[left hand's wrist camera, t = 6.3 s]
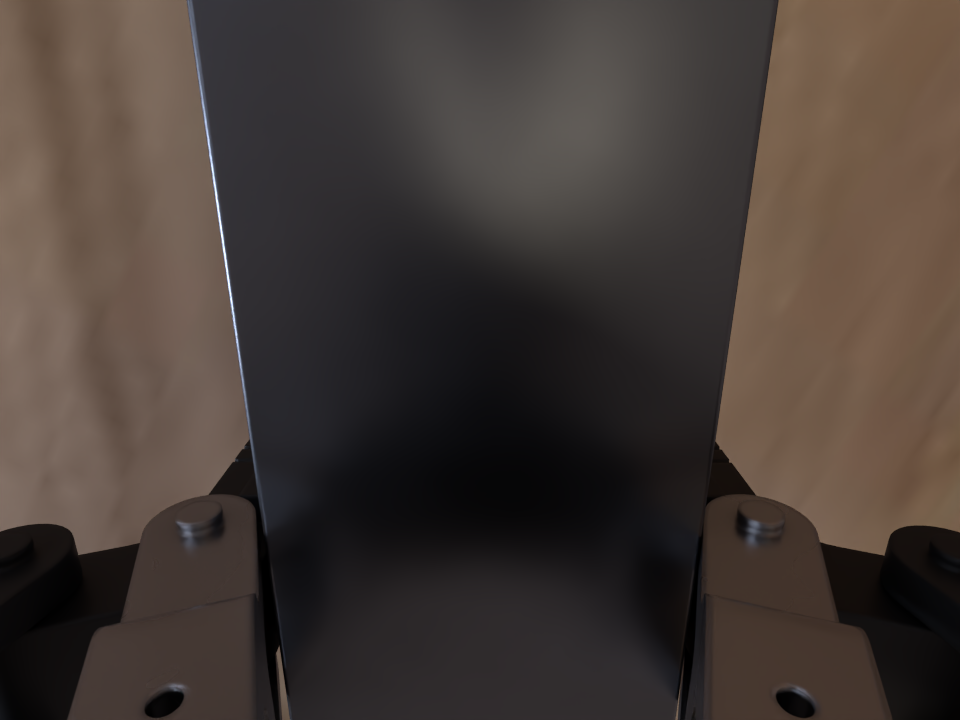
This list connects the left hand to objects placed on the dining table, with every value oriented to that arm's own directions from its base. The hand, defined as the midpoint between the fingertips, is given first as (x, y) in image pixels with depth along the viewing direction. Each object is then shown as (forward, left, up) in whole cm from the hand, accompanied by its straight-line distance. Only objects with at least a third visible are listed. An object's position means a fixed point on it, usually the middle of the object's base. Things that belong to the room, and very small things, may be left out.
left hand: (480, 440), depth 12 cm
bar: (+2, +9, -5) cm, 10 cm away
